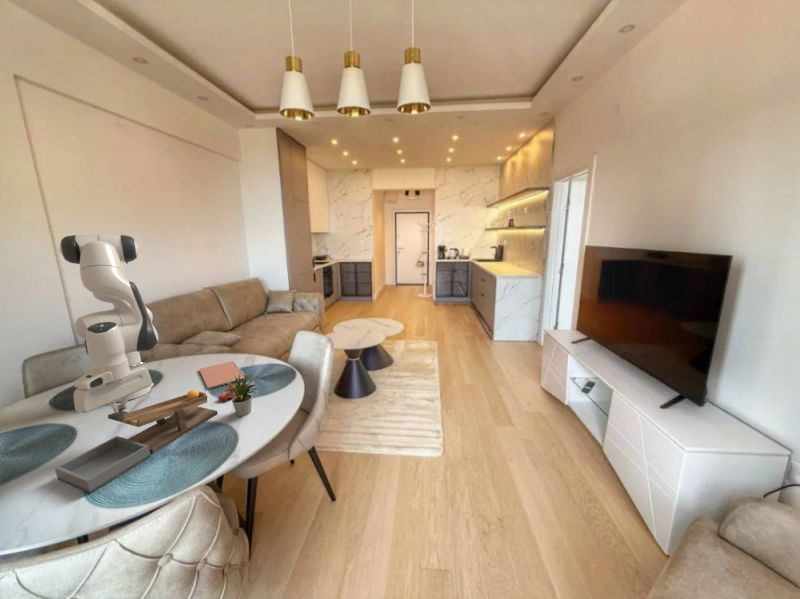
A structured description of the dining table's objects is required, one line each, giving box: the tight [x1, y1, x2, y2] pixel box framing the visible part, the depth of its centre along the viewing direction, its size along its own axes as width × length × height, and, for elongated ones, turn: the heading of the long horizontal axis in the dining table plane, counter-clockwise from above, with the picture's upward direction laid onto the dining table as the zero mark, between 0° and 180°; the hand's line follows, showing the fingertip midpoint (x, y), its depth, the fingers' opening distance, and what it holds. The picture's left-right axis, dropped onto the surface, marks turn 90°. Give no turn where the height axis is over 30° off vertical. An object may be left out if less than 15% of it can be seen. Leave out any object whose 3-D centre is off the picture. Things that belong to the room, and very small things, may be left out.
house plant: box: [218, 371, 260, 417], centre depth 123 cm, size 14×14×16 cm
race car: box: [218, 382, 242, 403], centre depth 140 cm, size 13×5×4 cm, turn 158°
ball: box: [186, 389, 200, 400], centre depth 123 cm, size 4×4×4 cm
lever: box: [107, 390, 208, 428], centre depth 115 cm, size 16×24×4 cm, turn 160°
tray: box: [54, 435, 152, 495], centre depth 97 cm, size 16×16×4 cm
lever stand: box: [128, 406, 219, 454], centre depth 116 cm, size 14×24×9 cm, turn 160°
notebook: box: [198, 360, 246, 390], centre depth 161 cm, size 27×17×2 cm, turn 39°
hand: (120, 410), depth 107 cm, fingers closed
